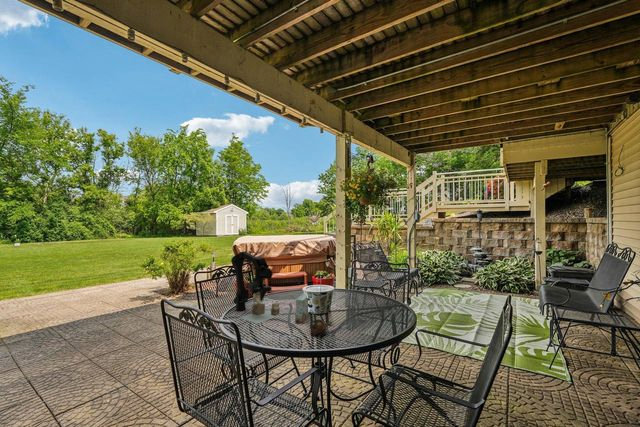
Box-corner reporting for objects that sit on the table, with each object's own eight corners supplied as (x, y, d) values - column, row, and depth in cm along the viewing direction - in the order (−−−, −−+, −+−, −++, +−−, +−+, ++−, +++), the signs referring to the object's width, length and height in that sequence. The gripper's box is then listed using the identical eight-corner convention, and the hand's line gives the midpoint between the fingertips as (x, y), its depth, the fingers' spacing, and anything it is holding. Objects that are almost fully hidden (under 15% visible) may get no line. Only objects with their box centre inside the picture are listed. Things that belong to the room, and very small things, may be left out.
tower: (271, 314, 197) (271, 303, 198) (275, 313, 201) (275, 302, 201) (275, 315, 195) (275, 304, 195) (279, 314, 198) (279, 303, 199)
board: (238, 319, 191) (238, 317, 191) (262, 310, 209) (262, 309, 209) (257, 325, 180) (257, 323, 180) (281, 315, 199) (281, 314, 199)
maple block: (253, 301, 194) (253, 293, 194) (258, 299, 198) (258, 292, 198) (258, 302, 191) (258, 295, 191) (263, 301, 195) (264, 293, 195)
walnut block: (252, 313, 199) (252, 304, 199) (258, 311, 204) (258, 302, 204) (258, 315, 196) (258, 306, 196) (264, 313, 201) (264, 304, 201)
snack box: (303, 324, 183) (303, 300, 184) (294, 323, 184) (295, 299, 185) (311, 313, 204) (311, 292, 204) (303, 313, 205) (303, 291, 206)
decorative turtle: (313, 339, 159) (313, 324, 160) (307, 331, 174) (306, 317, 174) (330, 337, 162) (329, 322, 163) (322, 329, 176) (321, 315, 177)
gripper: (240, 276, 194) (239, 300, 194) (259, 280, 183) (259, 305, 183) (253, 274, 203) (252, 296, 203) (272, 278, 192) (271, 301, 192)
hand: (258, 300), depth 195 cm, fingers closed on maple block, 5 cm apart
